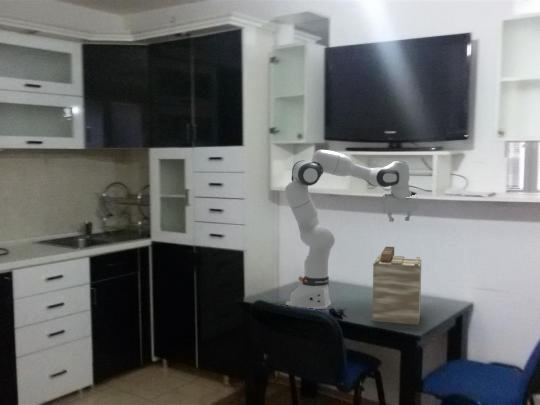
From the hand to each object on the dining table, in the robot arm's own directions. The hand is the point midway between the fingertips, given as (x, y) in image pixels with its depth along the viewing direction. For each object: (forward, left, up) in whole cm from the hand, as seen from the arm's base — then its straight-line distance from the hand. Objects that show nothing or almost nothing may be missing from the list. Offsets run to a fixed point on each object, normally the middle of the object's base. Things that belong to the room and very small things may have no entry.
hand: (399, 221), depth 280 cm
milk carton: (-28, +40, -41) cm, 64 cm away
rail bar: (-17, -15, -15) cm, 27 cm away
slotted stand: (-17, -23, -41) cm, 50 cm away
